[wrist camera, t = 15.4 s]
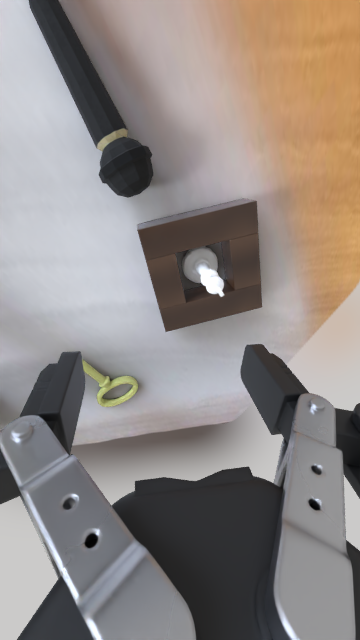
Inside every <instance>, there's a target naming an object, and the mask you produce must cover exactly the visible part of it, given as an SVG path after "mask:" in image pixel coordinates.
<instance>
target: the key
mask: <svg viewBox="0 0 360 640" xmlns="http://www.w3.org/2000/svg"><path fill="white" fill-rule="evenodd" d="M82 363H83V369H84V372H85V373H87V374H88V375H89V376H91V377H92V378H93V379H95V380H96V381H97V382H99V386H100V387H101V389H100V390H99V392H98V394H97V401H98V403H99V404H100V405H101V406H104V407H111V406H115V405H118V404H121V403H123V402H125V401H127V400H128V399H130V398H131V397H132V396H133V395H134V394H135V393H136V391H137V389H138V384H137V381H136V380H135V379H134V378H133V377H131V376H122V377H118V378H115V379H113V380H111V381H109V380H110V378H109V377H108V376H105V377H104V376H103V375H101V374H100V373H99V372H98V371H96V370H95V369H94V368H93V367H91V366H90V365H89V364H87V363H86V362H85V361H84V360H82ZM121 384H131V385H133V387H132V388H131V390H130V391H129V392H128V393H126V394H125V395H123V396H122V397H119V398H117V399H112V400H106V399H104V398H102V396H103V395H104V394H105V393H106V392H107V391H109V390H110V389H112V388H114V387H116V386H118V385H121Z"/></svg>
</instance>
